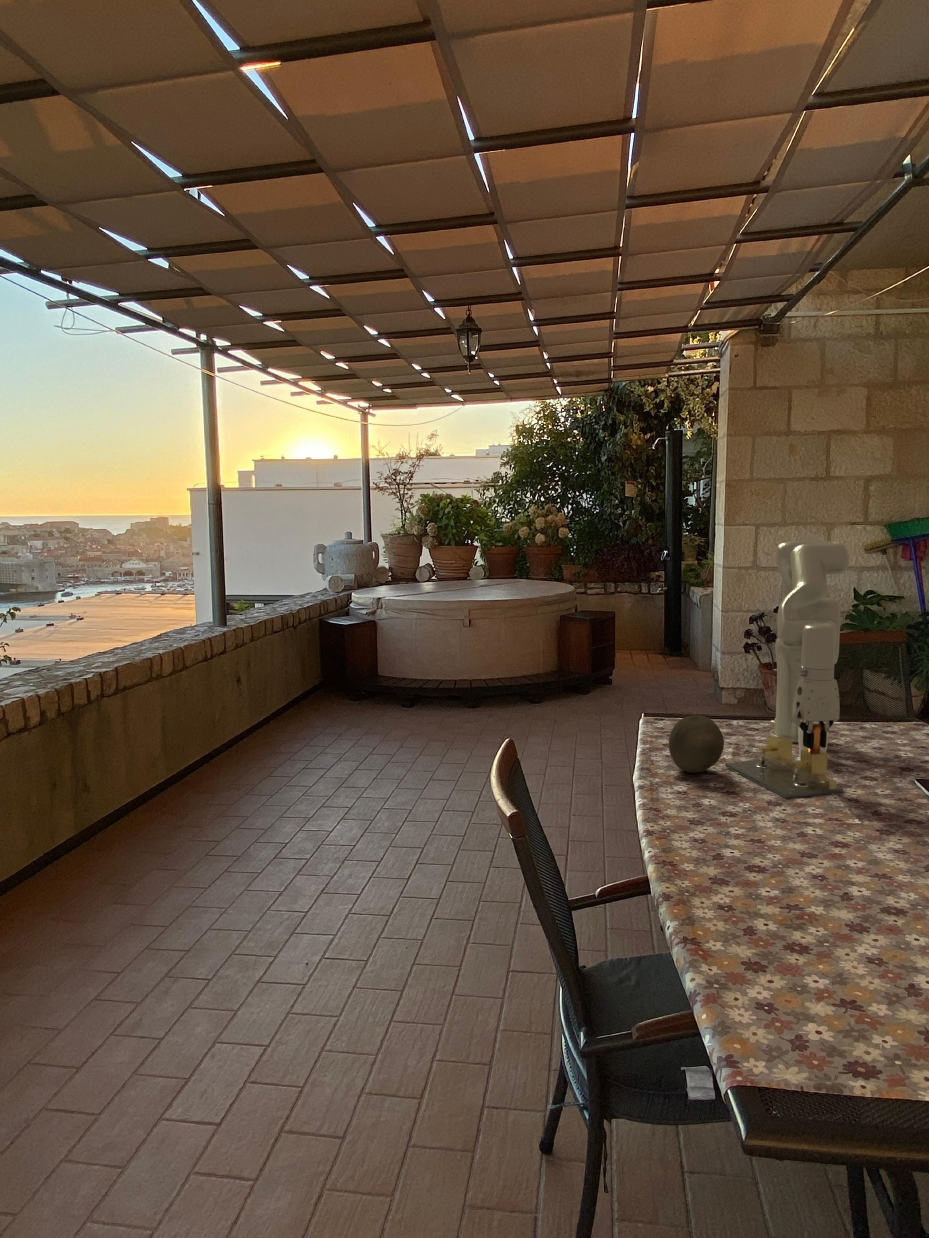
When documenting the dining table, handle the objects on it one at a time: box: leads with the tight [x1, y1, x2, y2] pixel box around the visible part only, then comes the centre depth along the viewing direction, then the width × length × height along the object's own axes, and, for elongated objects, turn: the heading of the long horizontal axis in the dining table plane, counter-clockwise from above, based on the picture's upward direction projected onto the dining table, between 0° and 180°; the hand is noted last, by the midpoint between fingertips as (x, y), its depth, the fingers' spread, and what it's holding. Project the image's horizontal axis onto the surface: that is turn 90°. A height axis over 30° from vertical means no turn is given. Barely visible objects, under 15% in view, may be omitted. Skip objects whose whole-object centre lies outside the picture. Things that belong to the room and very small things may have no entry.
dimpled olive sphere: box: [668, 715, 725, 774], centre depth 218 cm, size 14×14×15 cm
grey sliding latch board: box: [724, 736, 844, 799], centre depth 212 cm, size 26×16×8 cm, turn 15°
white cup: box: [798, 720, 830, 759], centre depth 229 cm, size 8×8×10 cm
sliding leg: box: [791, 723, 829, 781], centre depth 207 cm, size 4×8×14 cm, turn 104°
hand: (814, 746), depth 207 cm, fingers closed on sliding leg, 2 cm apart
